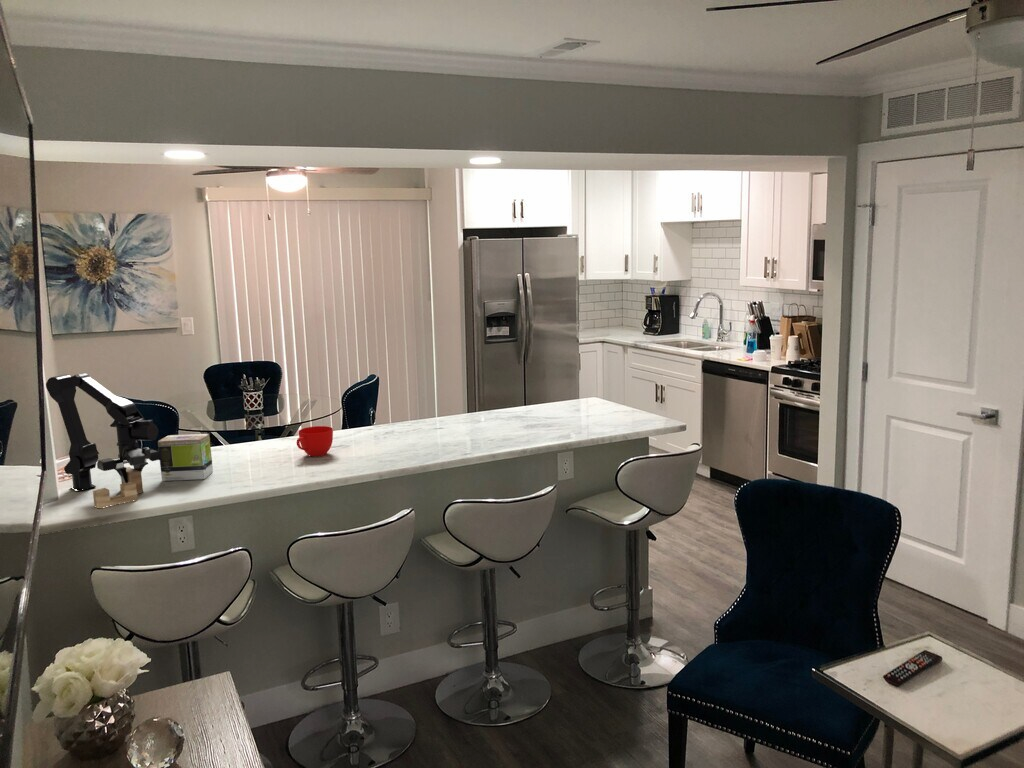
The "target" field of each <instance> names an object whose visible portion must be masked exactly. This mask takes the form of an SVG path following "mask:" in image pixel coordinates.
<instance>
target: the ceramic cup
mask: <svg viewBox="0 0 1024 768" xmlns="http://www.w3.org/2000/svg"><path fill="white" fill-rule="evenodd" d="M333 438H334V428H333V427H331V426H328V425H327V426H325V425H323V426H322V425H317V426H309V427H307V426H306V427H304V428H301V429H299V430H298V438H297V439H296V446H297V448H298V449H299V450H301V451H304V452H305V453H306V454H307V455H308V456H309V455H310V456H320V457H323V456H322V455H324V456H326V455H327V454H328V452H329V451H330V449H331V448H332V445H333V440H334V439H333ZM325 454H326V455H325ZM310 456H309V457H310Z"/></svg>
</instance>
